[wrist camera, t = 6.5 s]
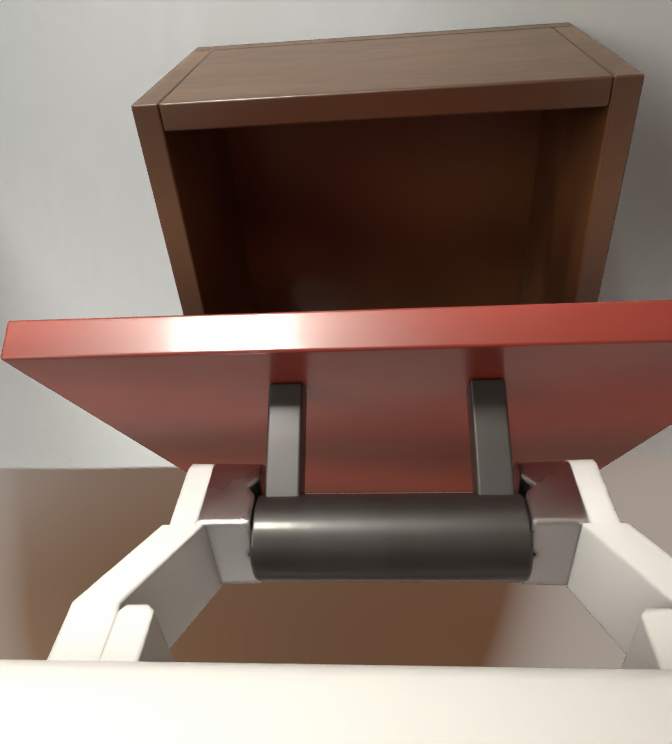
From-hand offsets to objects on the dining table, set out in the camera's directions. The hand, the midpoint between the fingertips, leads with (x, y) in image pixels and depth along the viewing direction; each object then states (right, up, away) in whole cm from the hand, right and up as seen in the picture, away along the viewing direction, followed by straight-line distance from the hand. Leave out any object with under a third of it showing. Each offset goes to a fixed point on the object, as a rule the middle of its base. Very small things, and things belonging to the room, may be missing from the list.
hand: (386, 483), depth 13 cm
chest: (+1, +9, +15) cm, 18 cm away
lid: (0, +1, +6) cm, 6 cm away
